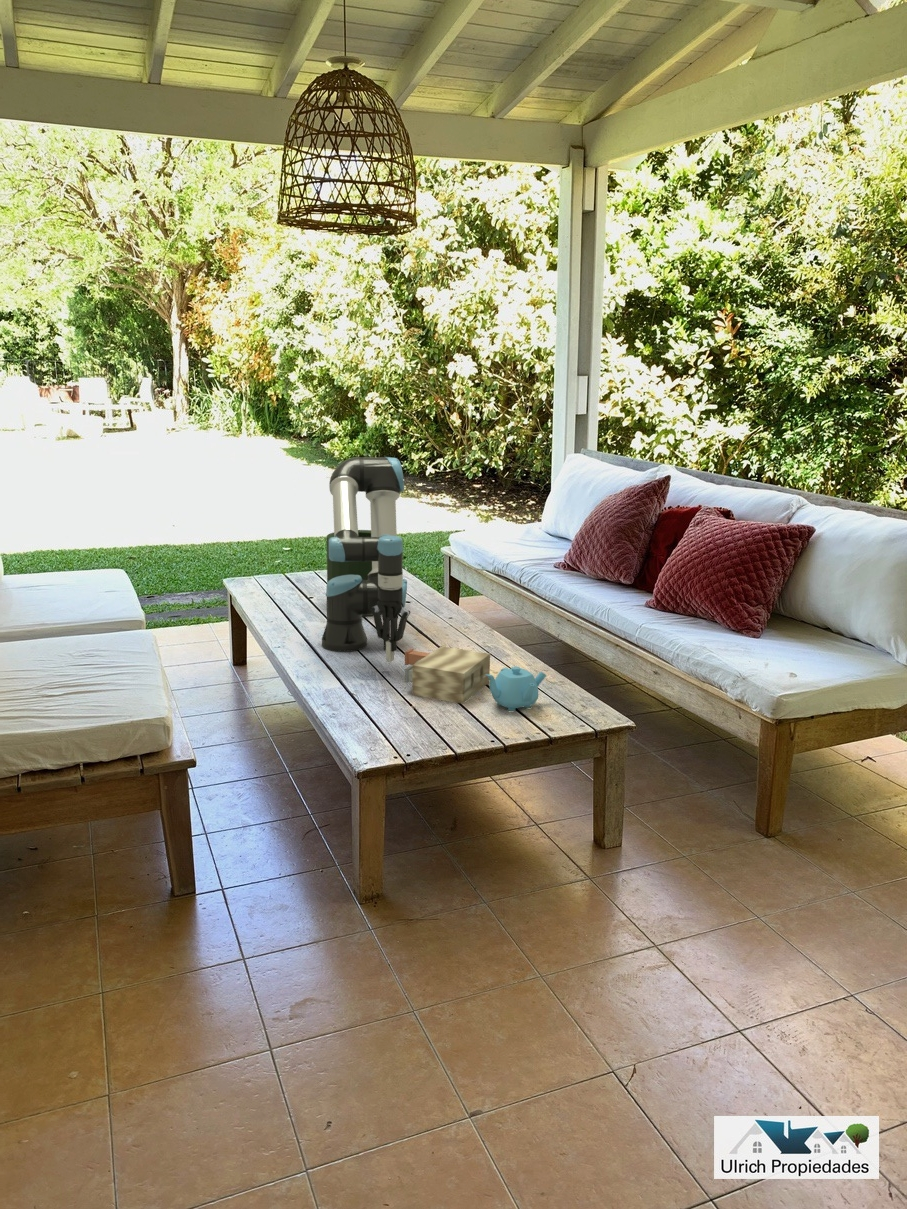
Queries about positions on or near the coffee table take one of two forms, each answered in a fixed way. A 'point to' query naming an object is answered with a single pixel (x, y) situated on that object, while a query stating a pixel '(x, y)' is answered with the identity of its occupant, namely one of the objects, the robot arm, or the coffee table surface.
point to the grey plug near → (408, 674)
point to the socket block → (450, 674)
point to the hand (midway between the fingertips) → (390, 660)
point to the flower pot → (349, 564)
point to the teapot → (515, 687)
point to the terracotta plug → (414, 656)
